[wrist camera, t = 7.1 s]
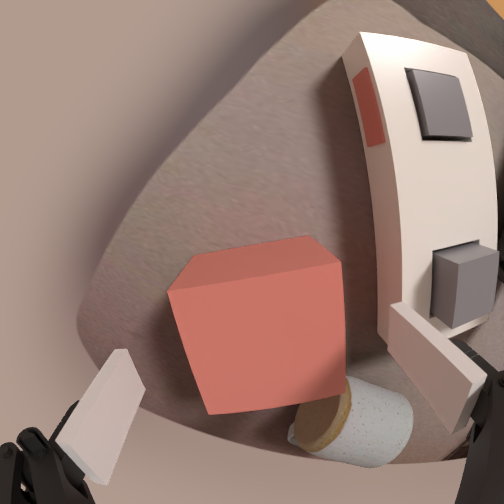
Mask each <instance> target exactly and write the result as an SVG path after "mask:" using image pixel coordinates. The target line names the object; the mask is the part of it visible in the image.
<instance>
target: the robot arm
mask: <svg viewBox="0 0 504 504" xmlns="http://www.w3.org/2000/svg"><path fill="white" fill-rule="evenodd" d="M387 351H388V352H389V353H390V354H391V356H392V357H393V358H394V359H395V361H396V362H397V363H398V365H399V366H400V367H401V368H402V370H403V371H404V372H405V373H406V375H407V376H408V377H409V379H410V380H411V381H412V383H413V384H414V385H415V386H416V388H417V389H418V390H419V392H420V393H421V394H422V396H423V397H424V398H425V400H426V401H427V402H428V404H429V405H430V406H431V408H432V409H433V410H434V412H435V413H436V415H437V416H438V417H439V419H440V420H441V421H442V423H443V424H444V426H445V427H446V428H447V430H448V431H449V433H450V434H451V435H452V434H453V433H455V432H457V431H459V430H460V429H462V428H464V427H465V426H466V424H467V422H468V420H469V418H470V416H471V418H472V419H473V420H474V423H473V425H472V427H471V429H470V431H469V433H468V435H467V437H466V439H468V438H469V436H470V435H471V438H470V444H469V449H468V454H467V460H466V464H465V468H464V472H463V476H462V480H461V484H460V488H459V491H458V494H457V498H456V501H455V504H504V371H500V372H498V371H497V370H496V369H495V368H494V367H492V366H491V365H490V364H489V363H488V362H487V361H486V360H485V359H483V358H482V357H481V356H480V355H478V353H476V352H475V351H474V350H472V348H471V347H469V346H468V345H467V344H466V343H464V342H462V341H459V340H457V339H454V340H451V341H450V340H448V339H447V338H446V337H445V336H444V335H443V334H442V333H440V332H439V331H438V330H437V329H436V328H434V327H433V326H432V325H431V324H430V323H429V322H427V321H426V320H425V319H424V318H423V317H421V316H420V315H419V314H418V313H417V312H415V311H414V310H413V309H412V308H410V307H409V306H408V305H407V304H405V303H404V302H403V301H402V302H398V303H395V304H391V305H390V315H389V334H388V348H387ZM144 392H145V388H144V386H143V384H142V382H141V379H140V377H139V375H138V373H137V371H136V369H135V366H134V364H133V362H132V360H131V357H130V355H129V353H128V350H127V349H115V350H114V351H113V352H112V354H111V355H110V357H109V358H108V360H107V361H106V363H105V364H104V365H103V367H102V368H101V370H100V371H99V373H98V374H97V376H96V377H95V379H94V380H93V382H92V383H91V385H90V386H89V388H88V389H87V391H86V392H85V394H84V395H83V397H82V398H81V400H80V401H79V400H78V401H77V402H75V403H74V404H73V405H72V406H71V407H70V408H69V409H68V411H67V412H66V414H65V416H64V417H63V418H62V420H61V421H62V422H60V423H59V425H58V426H57V428H56V429H55V431H54V433H53V434H52V436H51V437H50V439H49V441H47V439H46V438H45V437H44V436H43V434H42V433H41V432H40V431H39V429H37V428H35V427H30V428H26V429H24V430H23V431H22V432H21V433H20V434H19V435H18V437H17V440H16V442H17V444H18V445H19V446H20V447H21V448H22V449H23V451H20V450H19V448H18V447H17V446H16V445H15V444H14V443H12V442H8V443H4V444H2V445H1V447H0V504H95V502H94V500H93V497H92V495H91V493H90V490H89V488H88V486H87V484H86V482H85V481H84V480H83V478H84V476H85V475H86V476H87V477H88V478H89V479H90V480H91V481H92V482H95V483H99V484H104V485H108V483H109V480H110V477H111V475H112V472H113V469H114V467H115V464H116V461H117V459H118V456H119V454H120V451H121V448H122V446H123V443H124V441H125V438H126V436H127V433H128V431H129V428H130V426H131V423H132V421H133V418H134V416H135V413H136V411H137V409H138V406H139V404H140V402H141V399H142V397H143V394H144ZM21 483H22V484H23V485H24V486H25V487H26V490H25V491H23V490H22V489H21Z"/></svg>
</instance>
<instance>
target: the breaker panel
mask: <svg viewBox="0 0 504 504" xmlns="http://www.w3.org/2000/svg"><path fill="white" fill-rule="evenodd" d="M342 59H343V63H344V66H345V70H346V73H347V77H348V80H349V84H350V88H351V92H352V96H353V100H354V104H355V108H356V112H357V117H358V122H359V126H360V131H361V136H362V141H363V147H364V152H365V158H366V164H367V171H368V177H369V185H370V192H371V200H372V209H373V219H374V230H375V243H376V260H377V291H378V317H377V333H378V334H379V335H380V336H381V338H382V339H383V340H384V341H385V342H386V344H387V345H388V334H389V315H390V305H391V304H395V303H398V302H402V301H403V302H404V303H405V304H407V305H408V306H409V307H410V308H412V309H413V310H414V311H415V312H417V313H418V314H419V315H420V316H421V317H423V318H424V319H425V320H426V321H427V322H429V323H430V324H431V325H432V326H433V327H434V328H436V329H437V330H438V331H439V332H440V333H442V334H443V335H444V336H445V337H446V338H447V339H448V338H451V337H453V336H455V335H457V334H460V333H462V332H464V331H466V330H469V329H471V328H473V327H475V326H477V325H479V324H481V323H483V322H485V321H487V320H488V319H489V313H490V312H489V313H487V314H485V315H483V316H481V317H479V318H477V319H475V320H472V321H470V322H468V323H466V324H463V325H461V326H459V327H456V328H454V329H451V328H449V327H448V326H447V325H446V324H444V323H443V322H442V321H441V320H439V319H438V318H437V317H435V316H434V315H433V314H432V313H430V302H431V287H432V251H433V250H437V249H442V248H446V247H450V246H454V245H458V244H462V243H466V242H473V243H476V244H479V245H482V246H485V247H488V248H491V249H494V250H497V232H498V216H497V191H496V179H495V169H494V161H493V153H492V147H491V141H490V135H489V130H488V125H487V120H486V116H485V112H484V108H483V104H482V100H481V96H480V93H479V89H478V86H477V83H476V79H475V76H474V73H473V70H472V67H471V65H470V62H469V59H468V56H467V54H466V53H463V52H460V51H457V50H454V49H450V48H446V47H443V46H439V45H435V44H431V43H427V42H422V41H418V40H413V39H407V38H402V37H396V36H389V35H382V34H374V33H365V32H359V34H358V35H357V36H356V37H355V39H354V40H353V41H352V43H351V44H350V45H349V46H348V48H347V49H346V50H345V52H344V53H343V54H342ZM412 69H413V70H420V71H426V72H432V73H438V74H443V75H448V76H452V77H457V78H459V81H460V84H461V88H462V91H463V95H464V98H465V102H466V106H467V110H468V114H469V119H470V123H471V128H472V133H473V137H471V138H464V139H457V140H451V141H422V136H421V131H420V126H419V122H418V117H417V113H416V109H415V105H414V101H413V97H412V93H411V89H410V86H409V82H408V79H407V76H406V73H408V72H409V71H411V70H412Z"/></svg>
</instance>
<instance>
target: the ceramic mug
mask: <svg viewBox="0 0 504 504" xmlns="http://www.w3.org/2000/svg"><path fill="white" fill-rule="evenodd" d="M412 427H413V411H412V408H411V405H410V404H409V402H408V400H407V399H406V398H405V397H404V396H403V395H401V394H399V393H396V392H393V391H390V390H387V389H385V388H382V387H379V386H376V385H373V384H370V383H367V382H365V381H363V380H360V379H358V378H355V377H352V376H348V375H346V389H345V393H343V394H339V395H335V396H331V397H327V398H323V399H318V400H314V401H309V402H304V403H300V405H299V407H298V410H297V413H296V416H295V422H293V423H292V424H291V425H290V427H289V431H288V441H289V442H290V443H292V444H293V445H296V446H298V447H301V448H302V449H303V450H305V451H307V452H309V453H311V454H313V455H315V456H318V457H321V458H325V459H330V460H335V461H339V462H343V463H347V464H352V465H356V466H360V467H365V468H375V467H379V466H382V465H385V464H387V463H389V462H390V461H392V460H393V459H394V458H396V457H397V456H398V455H399V454H400V452H401V451H402V450H403V448H404V447H405V446H406V444H407V442H408V440H409V438H410V435H411V432H412Z"/></svg>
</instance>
